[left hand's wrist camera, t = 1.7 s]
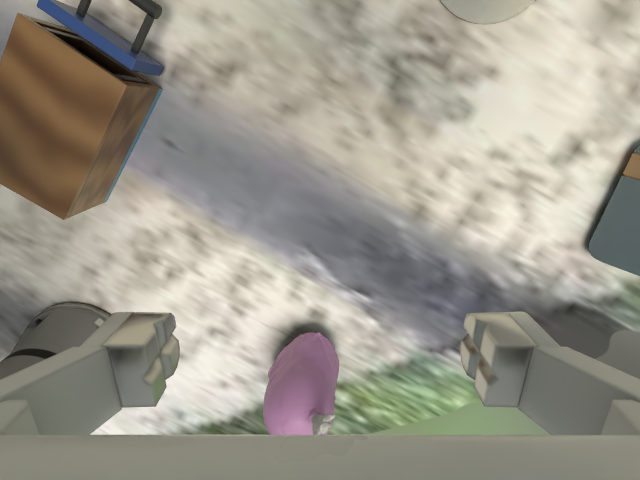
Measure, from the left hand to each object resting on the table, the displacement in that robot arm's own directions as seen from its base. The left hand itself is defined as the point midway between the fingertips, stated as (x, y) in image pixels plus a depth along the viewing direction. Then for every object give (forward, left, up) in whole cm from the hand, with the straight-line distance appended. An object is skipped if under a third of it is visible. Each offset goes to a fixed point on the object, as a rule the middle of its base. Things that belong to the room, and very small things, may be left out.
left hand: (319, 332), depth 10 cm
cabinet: (+4, -28, -39) cm, 48 cm away
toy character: (+30, +7, -39) cm, 49 cm away
